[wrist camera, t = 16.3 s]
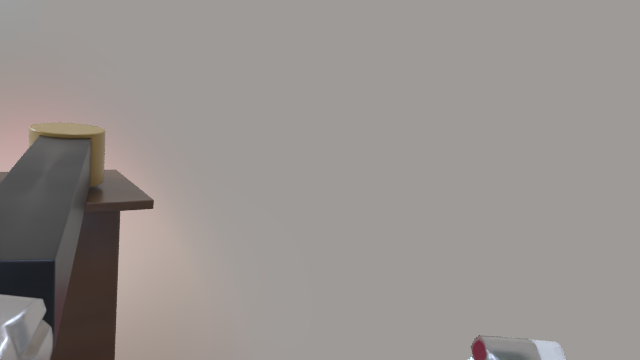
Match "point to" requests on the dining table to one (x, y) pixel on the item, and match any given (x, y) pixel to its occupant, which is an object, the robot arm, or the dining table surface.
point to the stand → (96, 272)
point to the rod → (47, 212)
